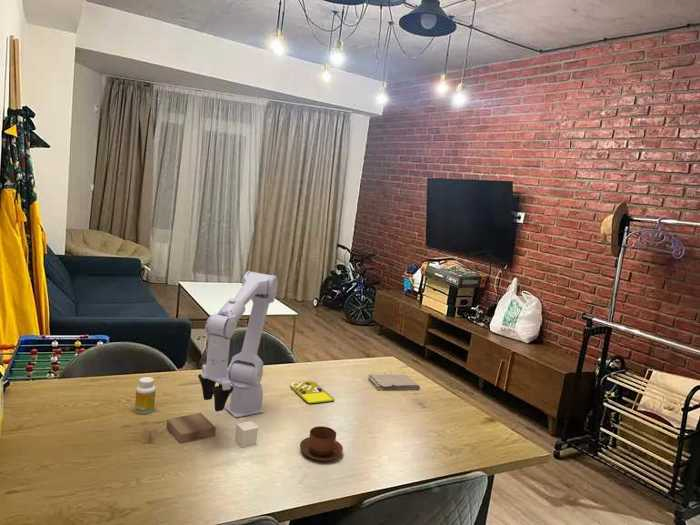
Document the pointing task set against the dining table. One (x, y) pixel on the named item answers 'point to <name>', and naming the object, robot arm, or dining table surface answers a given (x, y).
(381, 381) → the washcloth
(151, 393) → the supplement bottle
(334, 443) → the cup and saucer
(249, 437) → the white block
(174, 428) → the walnut block
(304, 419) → the dining table surface
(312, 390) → the game console
